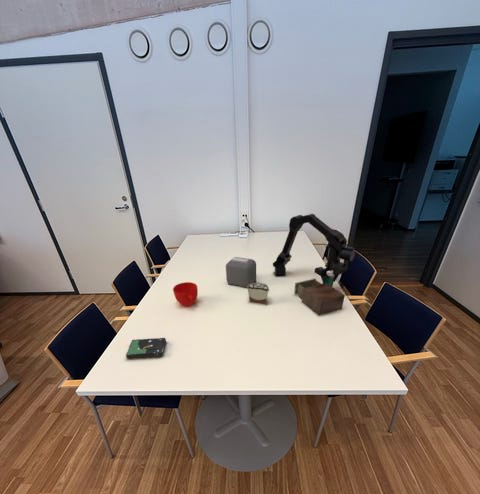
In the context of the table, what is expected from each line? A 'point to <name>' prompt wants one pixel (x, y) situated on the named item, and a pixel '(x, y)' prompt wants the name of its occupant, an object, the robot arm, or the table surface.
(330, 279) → the tea tin
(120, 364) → the table surface
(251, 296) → the food container
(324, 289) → the cabinet
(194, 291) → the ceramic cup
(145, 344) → the disk drive
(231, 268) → the alarm clock
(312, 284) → the drawer
